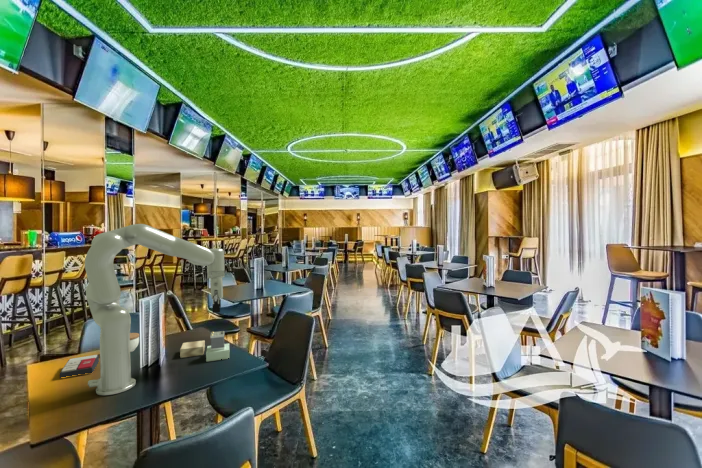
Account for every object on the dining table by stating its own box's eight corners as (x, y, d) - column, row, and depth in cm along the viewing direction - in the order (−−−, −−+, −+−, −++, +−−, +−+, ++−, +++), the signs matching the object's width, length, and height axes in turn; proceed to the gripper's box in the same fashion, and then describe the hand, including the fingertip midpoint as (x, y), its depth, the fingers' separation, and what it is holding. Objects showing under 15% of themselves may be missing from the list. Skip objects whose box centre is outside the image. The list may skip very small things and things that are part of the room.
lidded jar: (144, 348, 173) (144, 330, 173) (124, 356, 163) (123, 336, 163) (130, 346, 177) (129, 328, 177) (109, 353, 167) (108, 334, 167)
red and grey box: (59, 371, 138) (68, 357, 151) (59, 381, 138) (69, 367, 151) (92, 365, 143) (98, 353, 156) (92, 375, 144) (99, 362, 157)
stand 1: (180, 357, 159) (180, 349, 159) (183, 350, 169) (183, 342, 169) (203, 354, 163) (203, 346, 163) (204, 348, 172) (204, 340, 172)
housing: (224, 349, 158) (224, 333, 158) (210, 351, 156) (210, 335, 156) (224, 345, 164) (224, 329, 164) (211, 346, 162) (211, 331, 162)
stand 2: (206, 361, 154) (206, 353, 154) (207, 354, 163) (207, 346, 163) (229, 358, 157) (229, 349, 157) (229, 351, 167) (229, 343, 167)
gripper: (224, 276, 153) (224, 313, 153) (224, 271, 169) (225, 305, 169) (206, 277, 150) (207, 315, 151) (208, 272, 167) (209, 307, 167)
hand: (216, 310), depth 160 cm, fingers open, 9 cm apart
